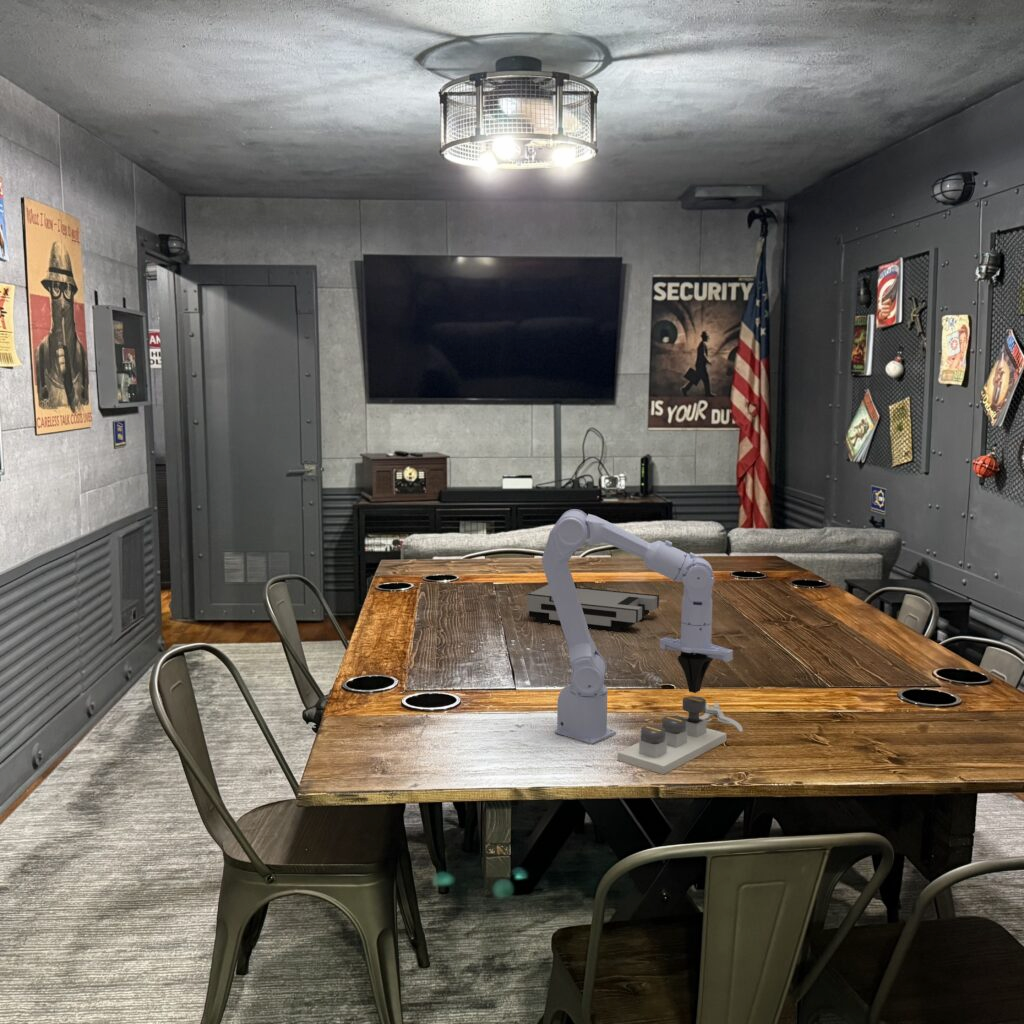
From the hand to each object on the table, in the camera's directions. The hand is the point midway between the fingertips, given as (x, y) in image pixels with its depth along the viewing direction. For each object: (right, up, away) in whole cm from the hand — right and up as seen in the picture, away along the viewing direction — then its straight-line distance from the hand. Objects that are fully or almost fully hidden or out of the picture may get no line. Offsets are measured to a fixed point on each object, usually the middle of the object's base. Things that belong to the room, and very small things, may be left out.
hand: (694, 691), depth 199 cm
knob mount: (-5, -11, -4) cm, 12 cm away
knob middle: (-5, -9, -4) cm, 11 cm away
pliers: (+6, -9, +13) cm, 17 cm away
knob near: (-9, -9, -9) cm, 16 cm away
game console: (-12, +3, +95) cm, 96 cm away
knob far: (0, -6, +1) cm, 6 cm away
